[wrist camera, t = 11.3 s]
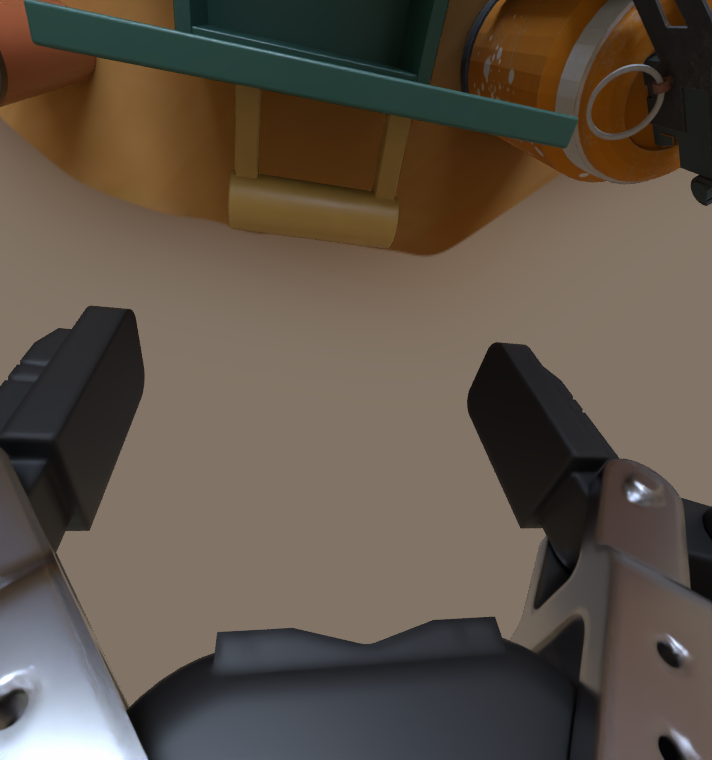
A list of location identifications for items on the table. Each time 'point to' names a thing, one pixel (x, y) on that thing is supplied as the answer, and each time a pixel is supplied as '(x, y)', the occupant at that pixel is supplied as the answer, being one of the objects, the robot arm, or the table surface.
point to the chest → (328, 30)
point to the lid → (308, 80)
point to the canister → (604, 82)
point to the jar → (33, 59)
